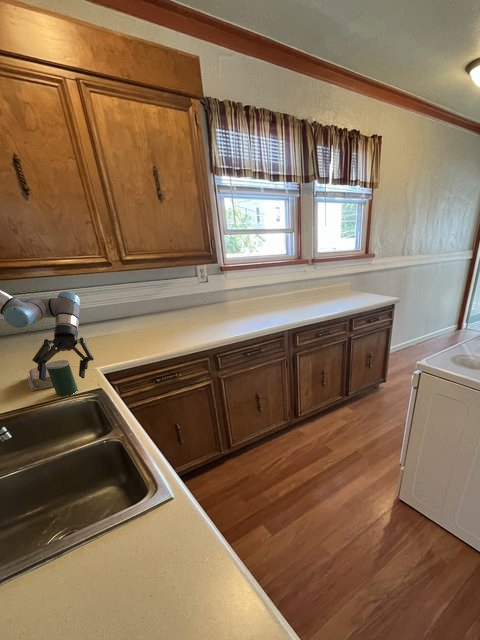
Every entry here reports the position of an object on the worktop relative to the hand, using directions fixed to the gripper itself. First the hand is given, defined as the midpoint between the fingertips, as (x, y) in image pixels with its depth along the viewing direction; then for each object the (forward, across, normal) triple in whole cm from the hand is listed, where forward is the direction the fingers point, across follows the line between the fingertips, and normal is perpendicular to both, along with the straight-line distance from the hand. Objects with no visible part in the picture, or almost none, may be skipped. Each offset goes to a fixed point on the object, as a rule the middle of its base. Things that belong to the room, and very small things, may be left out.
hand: (62, 378), depth 123 cm
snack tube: (+4, 0, -5) cm, 6 cm away
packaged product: (-5, +14, -14) cm, 21 cm away
